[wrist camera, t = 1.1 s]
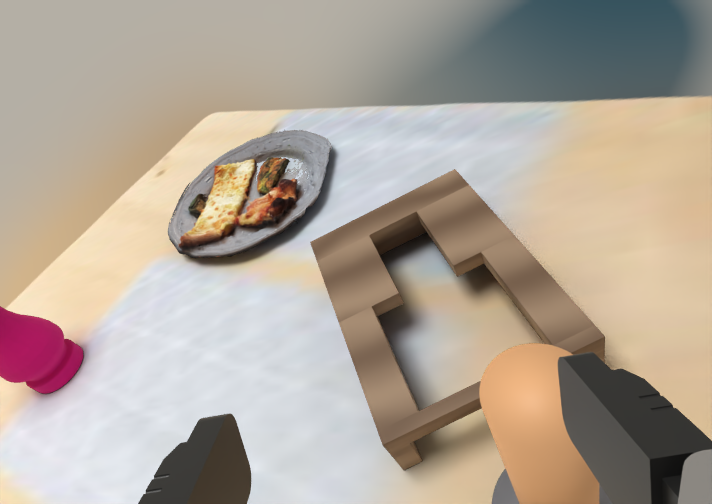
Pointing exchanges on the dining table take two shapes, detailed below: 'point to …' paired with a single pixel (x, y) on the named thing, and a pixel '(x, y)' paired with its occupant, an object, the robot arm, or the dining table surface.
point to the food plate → (249, 195)
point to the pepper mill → (36, 352)
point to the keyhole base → (378, 295)
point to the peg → (534, 431)
